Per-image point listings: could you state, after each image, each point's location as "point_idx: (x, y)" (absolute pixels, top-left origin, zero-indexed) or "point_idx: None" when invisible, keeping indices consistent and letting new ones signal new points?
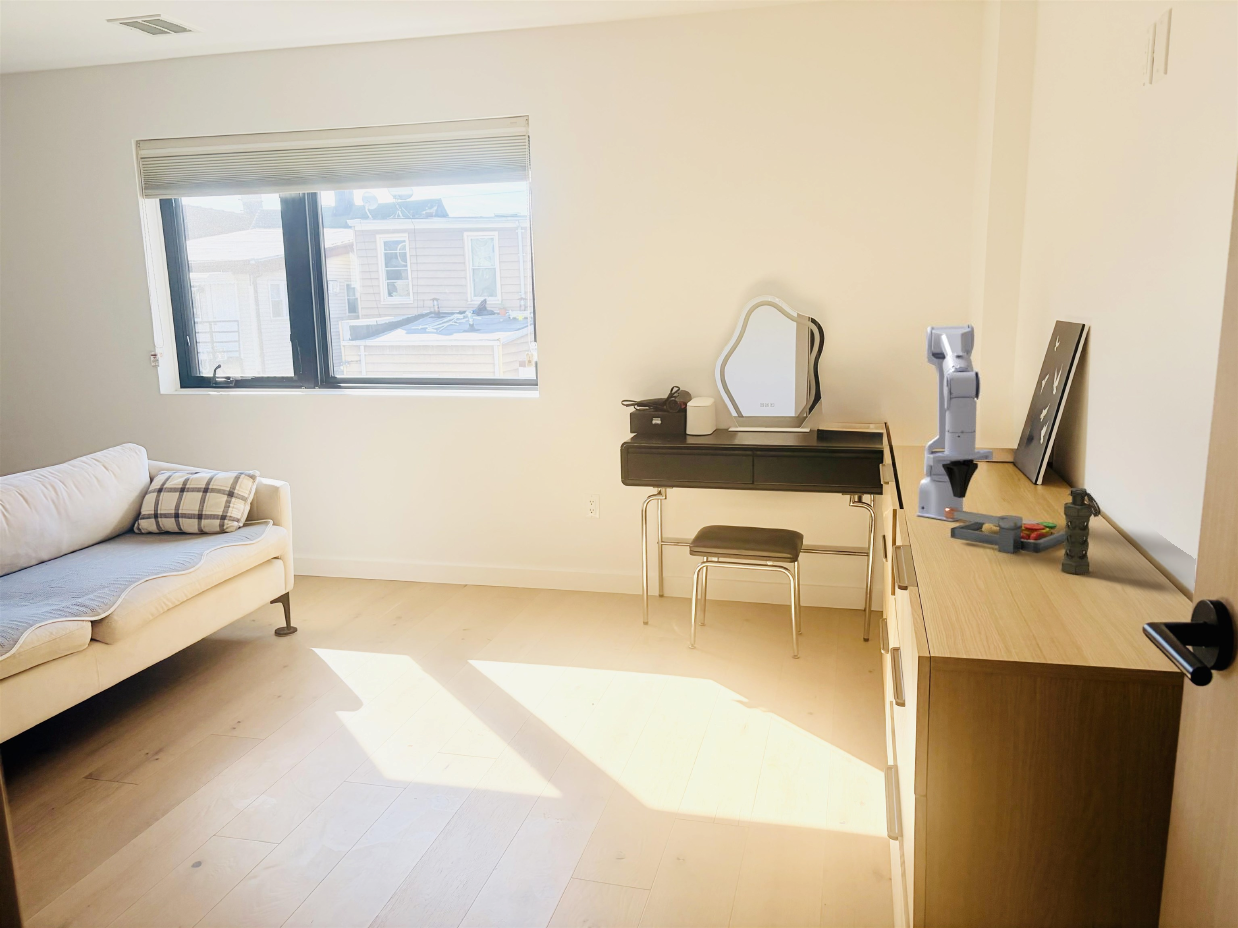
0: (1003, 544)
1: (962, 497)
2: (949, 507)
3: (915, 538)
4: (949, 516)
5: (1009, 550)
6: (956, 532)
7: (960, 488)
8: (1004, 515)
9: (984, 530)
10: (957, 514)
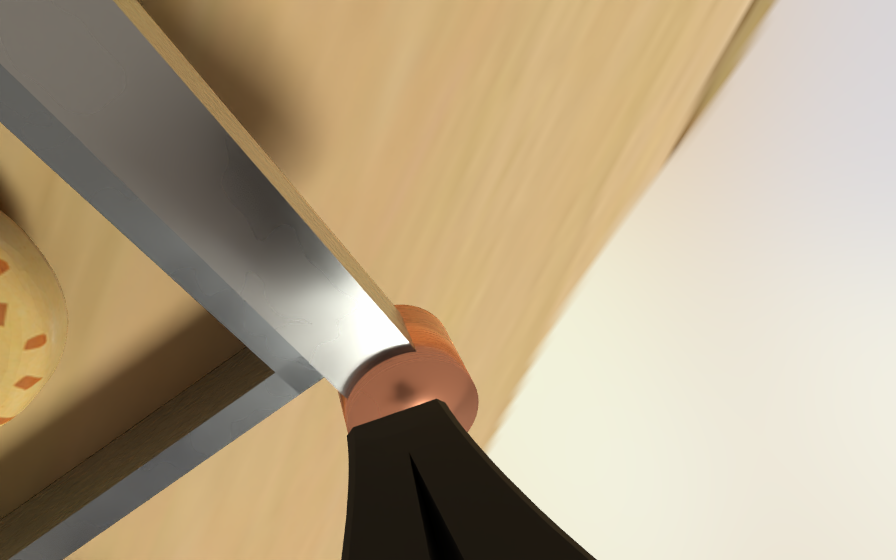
0: None
1: (396, 414)
2: None
3: (544, 325)
4: (438, 328)
5: None
6: None
7: (510, 481)
8: None
9: (59, 295)
10: (386, 308)
